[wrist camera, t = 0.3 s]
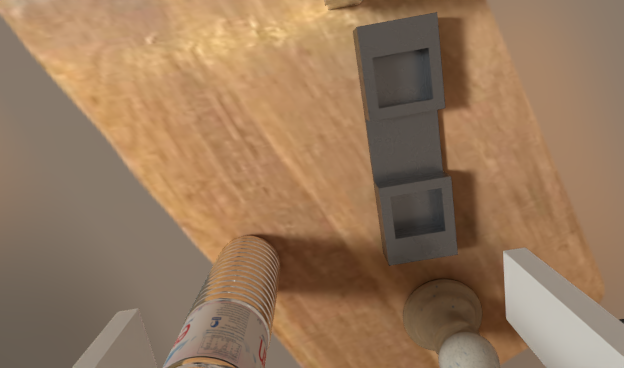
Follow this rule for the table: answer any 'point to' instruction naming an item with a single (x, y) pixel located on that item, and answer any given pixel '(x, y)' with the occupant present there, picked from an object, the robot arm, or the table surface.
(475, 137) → the table surface
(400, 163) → the rail
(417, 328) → the candle holder
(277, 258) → the water bottle
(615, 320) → the robot arm
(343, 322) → the table surface
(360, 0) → the grey notched block
